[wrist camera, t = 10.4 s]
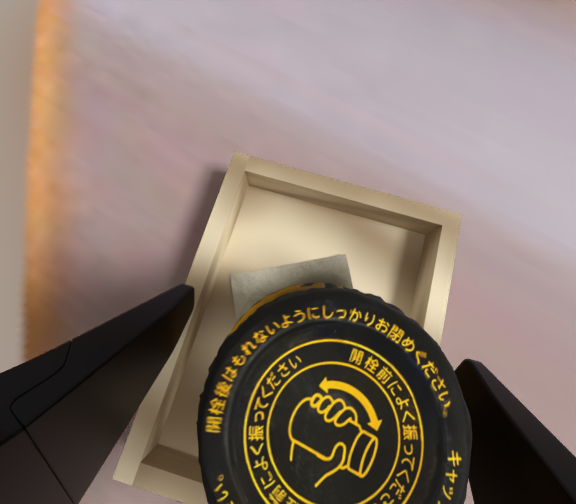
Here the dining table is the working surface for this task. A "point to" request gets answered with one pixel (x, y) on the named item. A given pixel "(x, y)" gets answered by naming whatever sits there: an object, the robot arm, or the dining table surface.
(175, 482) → the tray
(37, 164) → the dining table surface
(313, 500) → the condiment
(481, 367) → the robot arm
